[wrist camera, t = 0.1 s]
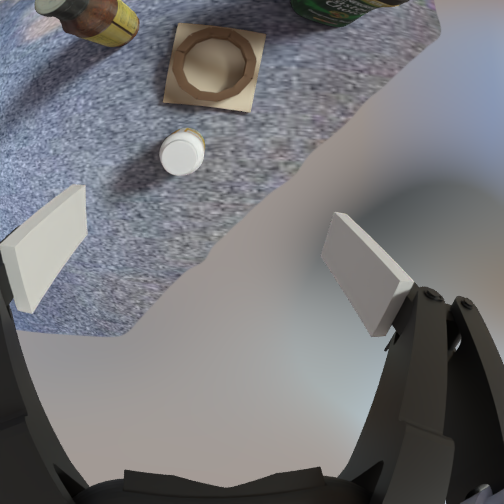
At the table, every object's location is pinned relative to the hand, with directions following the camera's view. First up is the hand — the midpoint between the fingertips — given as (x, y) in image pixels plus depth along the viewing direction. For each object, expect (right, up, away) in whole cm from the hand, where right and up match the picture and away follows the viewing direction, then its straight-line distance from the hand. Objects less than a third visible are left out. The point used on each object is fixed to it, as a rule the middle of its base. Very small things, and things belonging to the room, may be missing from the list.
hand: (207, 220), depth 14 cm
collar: (-3, +24, +18) cm, 30 cm away
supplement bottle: (-7, +13, +24) cm, 28 cm away
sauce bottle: (-16, +29, +13) cm, 36 cm away
